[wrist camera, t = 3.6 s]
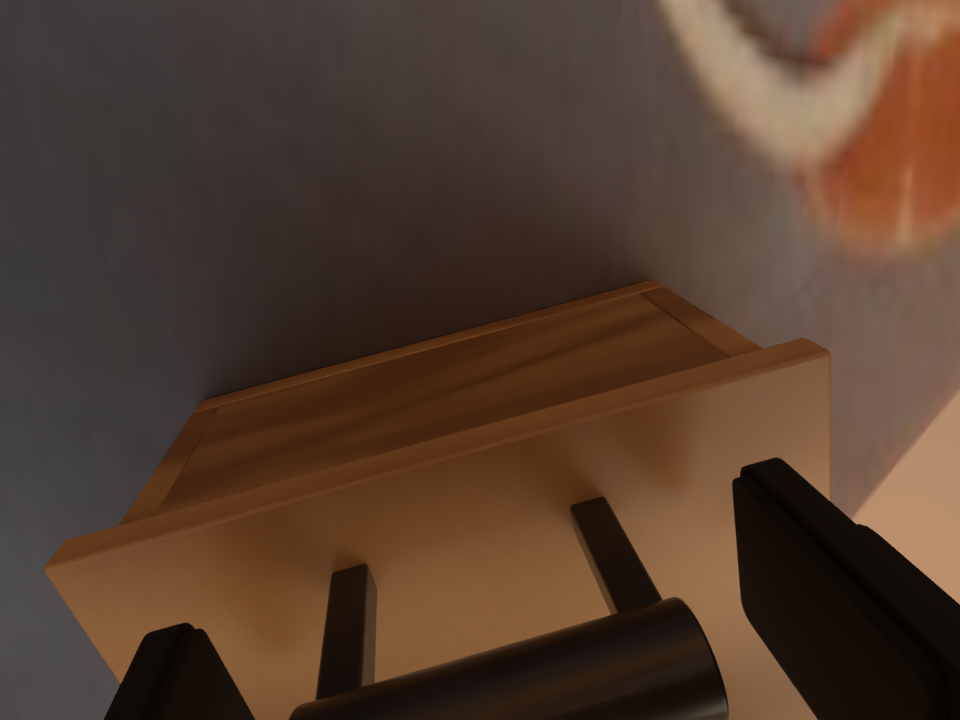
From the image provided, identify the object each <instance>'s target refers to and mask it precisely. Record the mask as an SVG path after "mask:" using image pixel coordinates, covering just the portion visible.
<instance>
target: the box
mask: <svg viewBox="0 0 960 720" xmlns="http://www.w3.org/2000/svg"><path fill="white" fill-rule="evenodd" d="M760 349H763V348H761V347H760V346H758V345H757V344H755V343H753V342H752V341H750V340H749V339H747V338H745V337H744V336H742V335H741V334H739V333H737V332H736V331H734V330H733V329H731V328H730V327H728V326H726V325H725V324H723V323H722V322H720V321H718V320H717V319H715V318H714V317H712V316H710V315H709V314H707V313H706V312H704V311H702V310H701V309H699V308H698V307H696V306H695V305H693V304H691V303H690V302H688V301H687V300H685V299H683V298H682V297H680V296H679V295H677V294H675V293H674V292H672V291H671V290H669V289H667V288H666V287H663V286H662V285H661V284H659V283H658V282H656V281H655V280H650V281H646V282H642V283H639V284H635V285H631V286H627V287H624V288H620V289H616V290H613V291H609V292H605V293H601V294H598V295H594V296H590V297H586V298H583V299H579V300H575V301H572V302H568V303H564V304H560V305H557V306H553V307H549V308H545V309H542V310H538V311H534V312H531V313H527V314H523V315H519V316H516V317H512V318H508V319H505V320H501V321H497V322H493V323H490V324H486V325H482V326H478V327H475V328H471V329H467V330H464V331H460V332H456V333H452V334H449V335H445V336H441V337H437V338H434V339H430V340H426V341H423V342H419V343H415V344H411V345H408V346H404V347H400V348H397V349H393V350H389V351H385V352H382V353H378V354H374V355H370V356H367V357H363V358H359V359H356V360H352V361H348V362H344V363H341V364H337V365H333V366H329V367H326V368H322V369H318V370H315V371H311V372H307V373H303V374H300V375H296V376H292V377H289V378H285V379H281V380H277V381H274V382H270V383H266V384H262V385H259V386H255V387H251V388H248V389H244V390H240V391H236V392H233V393H229V394H225V395H221V396H218V397H214V398H210V399H207V400H203V401H201V402H200V403H199V405H198V406H197V408H196V409H195V411H194V413H193V414H192V415H191V417H190V418H189V420H188V421H187V423H186V424H185V426H184V427H183V429H182V430H181V432H180V433H179V435H178V436H177V438H176V439H175V441H174V442H173V444H172V445H171V447H170V448H169V450H168V451H167V453H166V454H165V456H164V457H163V459H162V460H161V462H160V464H159V465H158V467H157V468H156V470H155V471H154V473H153V474H152V476H151V477H150V479H149V480H148V482H147V483H146V485H145V486H144V488H143V489H142V491H141V492H140V494H139V495H138V497H137V498H136V500H135V501H134V503H133V504H132V506H131V507H130V509H129V510H128V512H127V513H126V515H125V516H124V518H123V519H122V521H121V522H120V524H119V525H123V524H127V523H130V522H134V521H138V520H141V519H145V518H149V517H152V516H156V515H159V514H163V513H167V512H170V511H174V510H178V509H181V508H185V507H189V506H192V505H196V504H200V503H203V502H207V501H210V500H214V499H218V498H221V497H225V496H229V495H232V494H236V493H240V492H243V491H247V490H250V489H254V488H258V487H261V486H265V485H269V484H272V483H276V482H280V481H283V480H287V479H290V478H294V477H298V476H301V475H305V474H309V473H312V472H316V471H320V470H323V469H327V468H331V467H334V466H338V465H341V464H345V463H349V462H352V461H356V460H360V459H363V458H367V457H371V456H374V455H378V454H381V453H385V452H389V451H392V450H396V449H400V448H403V447H407V446H411V445H414V444H418V443H421V442H425V441H429V440H432V439H436V438H440V437H443V436H447V435H451V434H454V433H458V432H462V431H465V430H469V429H472V428H476V427H480V426H483V425H487V424H491V423H494V422H498V421H502V420H505V419H509V418H512V417H516V416H520V415H523V414H527V413H531V412H534V411H538V410H542V409H545V408H549V407H552V406H556V405H560V404H563V403H567V402H571V401H574V400H578V399H582V398H585V397H589V396H593V395H596V394H600V393H603V392H607V391H611V390H614V389H618V388H622V387H625V386H629V385H633V384H636V383H640V382H643V381H647V380H651V379H654V378H658V377H662V376H665V375H669V374H673V373H676V372H680V371H684V370H687V369H691V368H694V367H698V366H702V365H705V364H709V363H713V362H716V361H720V360H724V359H727V358H731V357H734V356H738V355H742V354H745V353H749V352H753V351H756V350H760ZM119 525H118V526H119Z"/></svg>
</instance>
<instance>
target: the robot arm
mask: <svg viewBox="0 0 960 720" xmlns="http://www.w3.org/2000/svg"><path fill="white" fill-rule="evenodd" d="M732 493H733V505H734V518H735V531H736V544H737V557H738V570H739V583H740V596H741V603H742V607H743V610H744V612H745V615H746V617H747V619H748V620H749V622H750V624H751V625H752V627H753V628H754V630H755V631H756V632H757V634H758V635H759V637H760V638H761V639H762V641H763V642H764V644H765V645H766V647H767V648H768V649H769V651H770V652H771V654H772V655H773V657H774V658H775V659H776V661H777V662H778V664H779V665H780V667H781V668H782V669H783V671H784V672H785V674H786V675H787V677H788V678H789V679H790V681H791V682H792V684H793V685H794V686H795V688H796V689H797V691H798V692H799V694H800V695H801V696H802V698H803V699H804V701H805V702H806V704H807V705H808V706H809V708H810V709H811V711H812V712H813V714H814V715H815V716H816V718H817V719H818V720H960V605H959V604H958V603H957V602H956V601H955V600H954V599H952V598H951V597H950V596H949V595H948V594H947V593H946V592H944V591H943V590H942V589H941V588H940V587H939V586H937V585H936V584H935V583H934V582H933V581H932V580H931V579H929V578H928V577H927V576H926V575H925V574H923V573H922V572H921V571H920V570H919V569H918V568H916V567H915V566H914V565H913V564H912V563H911V562H909V560H907V559H906V558H905V557H904V556H903V555H902V554H900V553H899V552H898V551H897V550H896V549H895V548H894V547H892V546H891V545H890V544H889V543H888V542H887V541H885V540H884V539H883V538H882V537H881V536H880V535H878V534H877V533H876V532H874V531H873V530H872V529H870V528H869V527H867V526H864V525H860V524H857V525H856V524H855V523H854V522H853V521H852V520H851V519H850V518H848V517H847V516H846V515H845V514H844V513H843V512H842V511H841V510H839V509H838V508H837V507H836V506H835V505H834V504H833V503H831V502H830V501H829V500H828V499H827V498H826V497H825V496H824V495H822V494H821V493H820V492H819V491H818V490H817V489H816V488H815V487H813V486H812V485H811V484H810V483H809V482H808V481H807V480H805V479H804V478H803V477H802V476H801V475H800V474H799V473H798V472H796V471H795V470H794V469H793V468H792V467H791V466H790V465H789V464H787V463H786V462H785V461H784V460H782V459H781V458H777V457H775V458H771V459H768V460H764V461H760V462H757V463H753V464H750V465H746V466H744V467H742V468H741V471H740V477H738V478H735V479H733V481H732ZM104 720H255V718H254V716H253V714H252V713H251V711H250V709H249V707H248V705H247V704H246V702H245V700H244V698H243V697H242V695H241V693H240V691H239V690H238V688H237V686H236V684H235V683H234V681H233V679H232V677H231V675H230V674H229V672H228V670H227V668H226V667H225V665H224V663H223V661H222V660H221V658H220V656H219V654H218V652H217V651H216V649H215V647H214V645H213V644H212V642H211V640H210V638H209V637H208V635H207V633H206V632H205V631H204V630H203V629H201V628H198V629H195V628H194V627H193V626H192V625H191V624H190V623H188V622H186V623H180V624H177V625H173V626H170V627H166V628H162V629H159V630H155V631H152V632H149V633H148V634H146V635H145V636H144V638H143V639H142V641H141V643H140V645H139V647H138V649H137V651H136V653H135V655H134V658H133V660H132V662H131V664H130V666H129V668H128V670H127V672H126V674H125V676H124V678H123V681H122V683H121V685H120V687H119V689H118V691H117V693H116V695H115V697H114V699H113V701H112V703H111V706H110V708H109V710H108V712H107V714H106V716H105V718H104Z"/></svg>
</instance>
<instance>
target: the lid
mask: <svg viewBox="0 0 960 720" xmlns="http://www.w3.org/2000/svg"><path fill="white" fill-rule="evenodd" d="M775 457H777V458H781V459H782V460H784V461H785V462H786V463H787V464H789V465H790V466H791V467H792V468H793V469H794V470H795V471H796V472H798V473H799V474H800V475H801V476H802V477H803V478H804V479H805V480H807V481H808V482H809V483H810V484H811V485H812V486H813V487H815V488H816V489H817V490H818V491H819V492H820V493H821V494H822V495H824V496H825V497H826V498H827V499H828V500H829V501H830V468H831V354H830V352H829V350H827V349H825V348H823V347H821V346H819V345H818V344H816V343H814V342H812V341H810V340H808V339H806V338H800V339H796V340H793V341H789V342H785V343H782V344H778V345H774V346H771V347H767V348H764V349H760V350H756V351H753V352H749V353H745V354H742V355H738V356H734V357H731V358H727V359H724V360H720V361H716V362H713V363H709V364H705V365H702V366H698V367H694V368H691V369H687V370H684V371H680V372H676V373H673V374H669V375H665V376H662V377H658V378H654V379H651V380H647V381H643V382H640V383H636V384H633V385H629V386H625V387H622V388H618V389H614V390H611V391H607V392H603V393H600V394H596V395H593V396H589V397H585V398H582V399H578V400H574V401H571V402H567V403H563V404H560V405H556V406H552V407H549V408H545V409H542V410H538V411H534V412H531V413H527V414H523V415H520V416H516V417H512V418H509V419H505V420H502V421H498V422H494V423H491V424H487V425H483V426H480V427H476V428H472V429H469V430H465V431H462V432H458V433H454V434H451V435H447V436H443V437H440V438H436V439H432V440H429V441H425V442H421V443H418V444H414V445H411V446H407V447H403V448H400V449H396V450H392V451H389V452H385V453H381V454H378V455H374V456H371V457H367V458H363V459H360V460H356V461H352V462H349V463H345V464H341V465H338V466H334V467H331V468H327V469H323V470H320V471H316V472H312V473H309V474H305V475H301V476H298V477H294V478H290V479H287V480H283V481H280V482H276V483H272V484H269V485H265V486H261V487H258V488H254V489H250V490H247V491H243V492H240V493H236V494H232V495H229V496H225V497H221V498H218V499H214V500H210V501H207V502H203V503H200V504H196V505H192V506H189V507H185V508H181V509H178V510H174V511H170V512H167V513H163V514H159V515H156V516H152V517H149V518H145V519H141V520H138V521H134V522H130V523H127V524H123V525H119V526H116V527H112V528H109V529H105V530H101V531H98V532H94V533H90V534H87V535H83V536H79V537H76V538H72V539H68V540H66V541H65V542H63V543H62V545H61V546H60V547H59V548H58V550H57V551H56V552H55V554H54V555H53V556H52V558H51V559H50V560H49V562H48V563H47V564H46V565H45V567H44V572H45V574H46V575H47V577H48V578H49V580H50V581H51V583H52V584H53V586H54V587H55V589H56V590H57V592H58V593H59V594H60V596H61V597H62V599H63V600H64V602H65V603H66V605H67V606H68V608H69V609H70V611H71V612H72V614H73V615H74V617H75V618H76V620H77V621H78V622H79V624H80V625H81V627H82V628H83V630H84V631H85V633H86V634H87V636H88V637H89V639H90V640H91V642H92V643H93V645H94V646H95V648H96V649H97V651H98V652H99V653H100V655H101V656H102V658H103V659H104V661H105V662H106V664H107V665H108V667H109V668H110V670H111V671H112V673H113V674H114V676H115V677H116V679H117V680H118V681H119V683H120V684H121V683H122V681H123V678H124V676H125V674H126V672H127V670H128V668H129V666H130V664H131V662H132V660H133V658H134V655H135V653H136V651H137V649H138V647H139V645H140V643H141V641H142V639H143V638H144V636H145V635H146V634H148V633H149V632H152V631H155V630H159V629H162V628H166V627H170V626H173V625H177V624H180V623H186V622H188V623H190V624H191V625H192V626H193V627H194V628H195V629H198V628H201V629H203V630H204V631H205V632H206V633H207V635H208V637H209V638H210V640H211V642H212V644H213V645H214V647H215V649H216V651H217V652H218V654H219V656H220V658H221V660H222V661H223V663H224V665H225V667H226V668H227V670H228V672H229V674H230V675H231V677H232V679H233V681H234V683H235V684H236V686H237V688H238V690H239V691H240V693H241V695H242V697H243V698H244V700H245V702H246V704H247V705H248V707H249V709H250V711H251V713H252V714H253V716H254V718H255V720H818V719H817V718H816V716H815V715H814V714H813V712H812V711H811V709H810V708H809V706H808V705H807V704H806V702H805V701H804V699H803V698H802V696H801V695H800V694H799V692H798V691H797V689H796V688H795V686H794V685H793V684H792V682H791V681H790V679H789V678H788V677H787V675H786V674H785V672H784V671H783V669H782V668H781V667H780V665H779V664H778V662H777V661H776V659H775V658H774V657H773V655H772V654H771V652H770V651H769V649H768V648H767V647H766V645H765V644H764V642H763V641H762V639H761V638H760V637H759V635H758V634H757V632H756V631H755V630H754V628H753V627H752V625H751V624H750V622H749V620H748V619H747V617H746V615H745V612H744V610H743V607H742V603H741V596H740V583H739V570H738V557H737V544H736V531H735V518H734V505H733V493H732V481H733V479H735V478H738V477H740V471H741V468H742V467H744V466H746V465H750V464H753V463H757V462H760V461H764V460H768V459H771V458H775Z"/></svg>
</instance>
